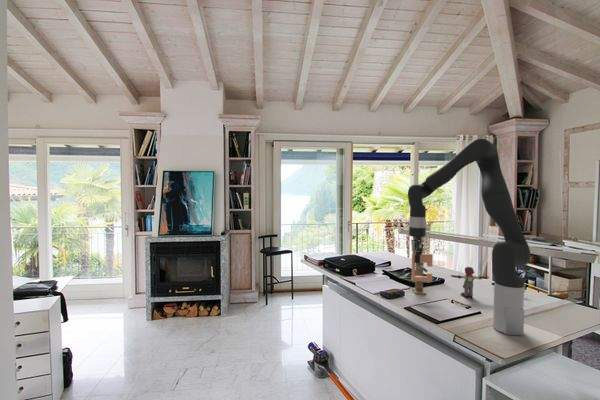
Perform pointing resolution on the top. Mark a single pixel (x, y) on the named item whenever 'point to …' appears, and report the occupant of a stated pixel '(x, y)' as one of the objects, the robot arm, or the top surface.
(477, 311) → the top surface
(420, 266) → the stand
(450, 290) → the top surface
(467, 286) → the toy
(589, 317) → the top surface
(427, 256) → the tan c-shaped block
